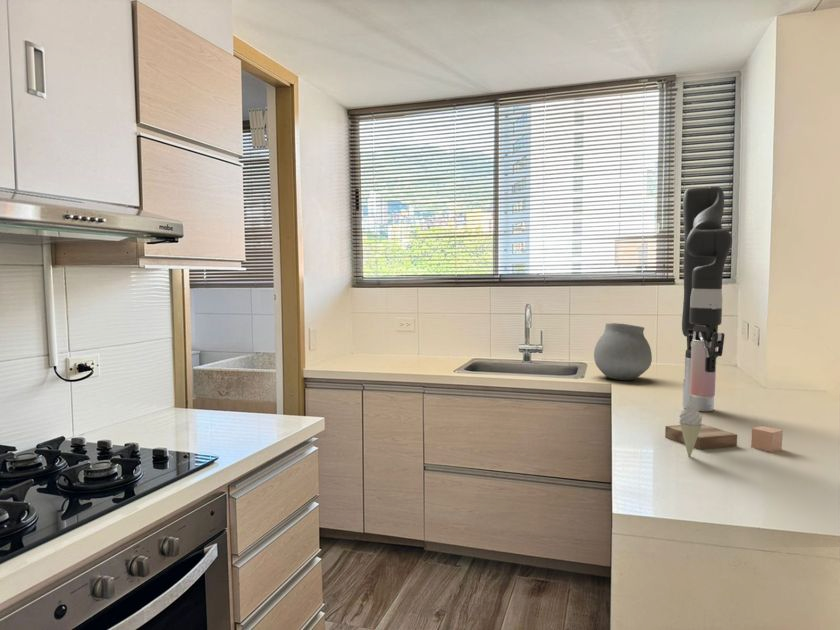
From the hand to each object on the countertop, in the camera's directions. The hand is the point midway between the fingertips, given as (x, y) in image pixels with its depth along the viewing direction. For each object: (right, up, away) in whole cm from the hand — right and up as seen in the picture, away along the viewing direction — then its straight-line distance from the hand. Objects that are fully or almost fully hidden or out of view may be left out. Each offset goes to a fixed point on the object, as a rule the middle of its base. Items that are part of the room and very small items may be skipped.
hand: (703, 369), depth 147 cm
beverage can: (0, -7, 0) cm, 7 cm away
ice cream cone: (-10, -20, -13) cm, 25 cm away
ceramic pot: (+16, -14, +103) cm, 105 cm away
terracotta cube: (+14, -20, -4) cm, 24 cm away
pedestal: (0, -19, +1) cm, 19 cm away
